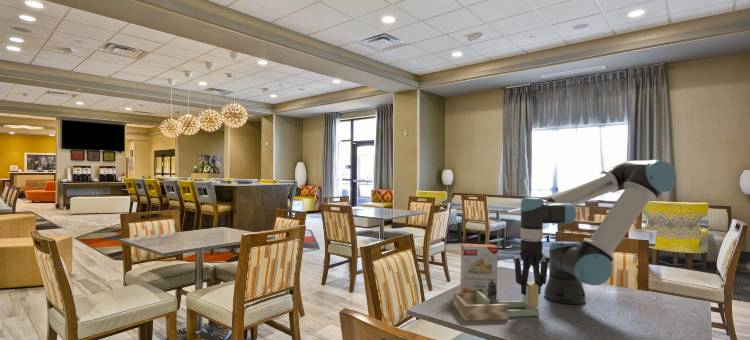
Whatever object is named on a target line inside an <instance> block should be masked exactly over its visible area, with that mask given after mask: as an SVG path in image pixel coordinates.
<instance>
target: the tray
mask: <svg viewBox="0 0 750 340" xmlns="http://www.w3.org/2000/svg"><path fill="white" fill-rule="evenodd" d="M527 286H528V287H529V305H526V304H525V303H524V302H523V300H497V301H498V302H500V303H501V304H508V308H517V309H508V317H533V316H534V317H538V316H540V309H539V295H538V285H537V284H535V282H533V281H529V280H528V281H527ZM477 304H490V299H488V298H487V297H486V296H485V295H484V294H482V293H481V292H480V291H476V305H477ZM518 308H519V309H518ZM520 308H521V309H520ZM522 308H523V309H522Z"/></svg>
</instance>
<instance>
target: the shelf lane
mask: <svg viewBox="0 0 750 340" xmlns="http://www.w3.org/2000/svg"><path fill="white" fill-rule="evenodd" d="M482 294H484V295H485V296H486V297H487V298H488V293H482ZM453 308H454V310H456V312H458V315H460V316H461V317H462V319H463V320H464V321H491V320H509V316H508V310H509V307H508V304H477V305H476V293H453Z"/></svg>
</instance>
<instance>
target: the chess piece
mask: <svg viewBox="0 0 750 340" xmlns="http://www.w3.org/2000/svg"><path fill="white" fill-rule="evenodd" d="M487 292H488V299H490V304H501V303H500V302H498V301H499V300H498V299H497V297H496V294H497V295H498V291H497V292H496V283H495V282H493V279H492V280H491V282H489V284H488V291H487Z"/></svg>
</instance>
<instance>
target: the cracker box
mask: <svg viewBox="0 0 750 340" xmlns="http://www.w3.org/2000/svg"><path fill="white" fill-rule="evenodd" d="M460 248H461V251H460V282H459V283H460V284H459V285H460V287H459V288H460V289H459V290H460V291H459V292H460V293H476V291H480V292H481V293H488V292H487V291H488V284H489V282H491V280H492V279H493V282H495V283H496V292H497V294H496V298H497V297H498V296H497V295H498V291H497V290H498V261H499V260H498V255H499V253H498V252H499V251H498V249H499V247H497V245H495V244H483V243H482V244H478V243H461V247H460Z"/></svg>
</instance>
